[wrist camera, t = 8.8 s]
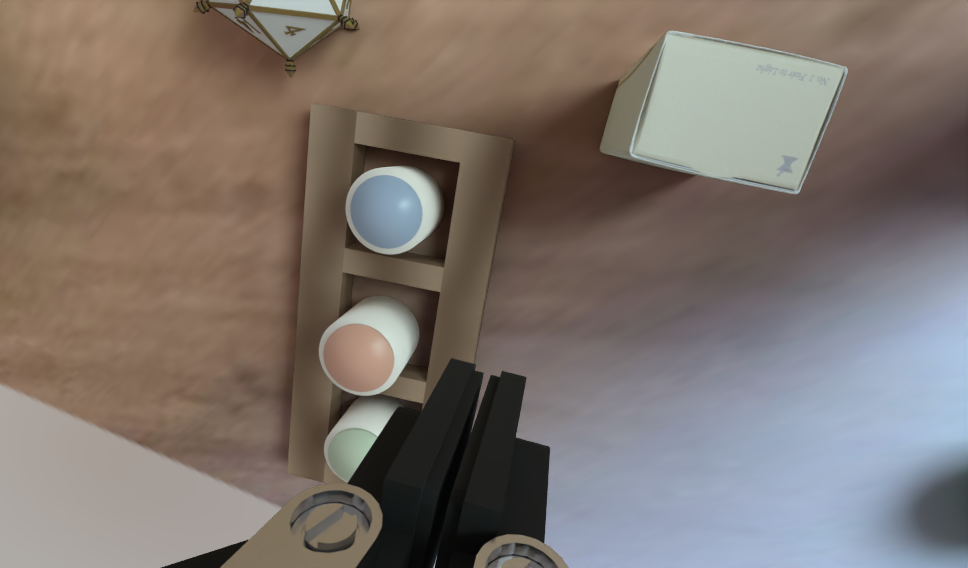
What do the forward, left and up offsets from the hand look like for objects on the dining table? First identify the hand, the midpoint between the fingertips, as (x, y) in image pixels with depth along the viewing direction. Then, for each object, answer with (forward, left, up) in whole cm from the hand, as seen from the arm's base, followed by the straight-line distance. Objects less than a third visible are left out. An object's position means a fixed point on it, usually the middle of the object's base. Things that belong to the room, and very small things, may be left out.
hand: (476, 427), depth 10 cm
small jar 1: (+8, -1, -21) cm, 22 cm away
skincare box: (-6, -8, -21) cm, 24 cm away
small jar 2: (+8, +7, -18) cm, 21 cm away
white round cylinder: (+8, +15, -21) cm, 26 cm away
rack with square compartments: (+8, +7, -21) cm, 23 cm away
